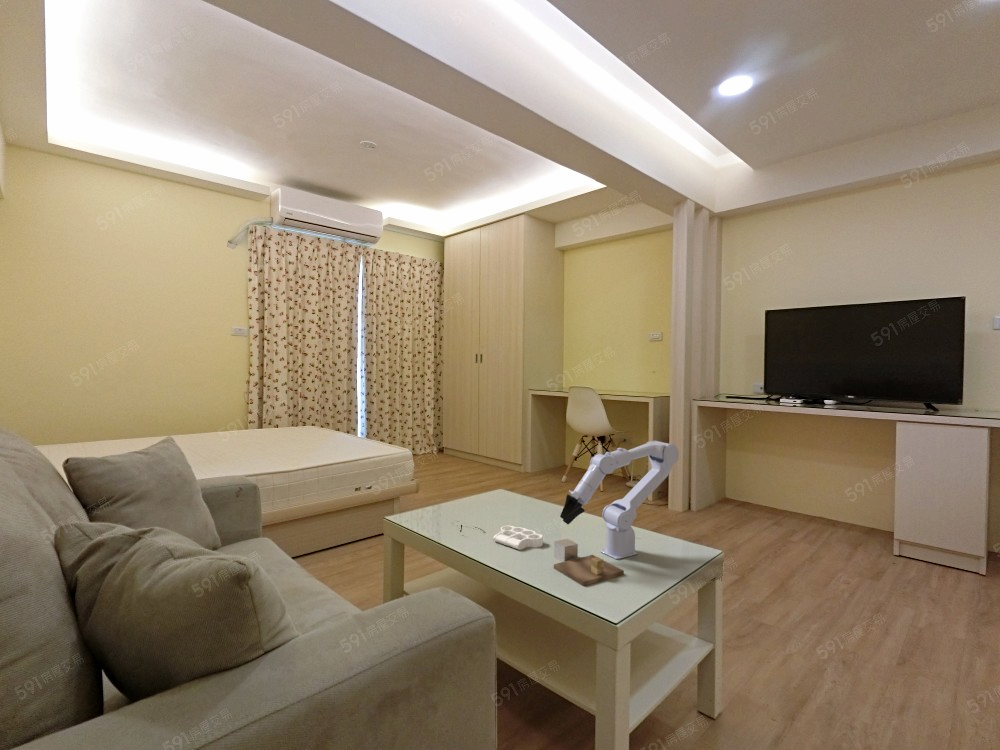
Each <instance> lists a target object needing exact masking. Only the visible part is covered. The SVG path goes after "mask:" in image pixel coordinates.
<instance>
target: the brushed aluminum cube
mask: <svg viewBox="0 0 1000 750" xmlns="http://www.w3.org/2000/svg"><path fill="white" fill-rule="evenodd" d="M578 545H579V544H578V543H577V542H575V541H572V540H571V539H569V538H565V539H560V540H555V541H554V546H553V547H554V548H553V549H554V551H553V552H554V555H553V557H554V559H556V560H558V561H559V562H560V563H561V562H565V561H569V560H573V559H577V558H579V557H578V556H579V554H578V553H579V552H578V551H579V546H578Z"/></svg>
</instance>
